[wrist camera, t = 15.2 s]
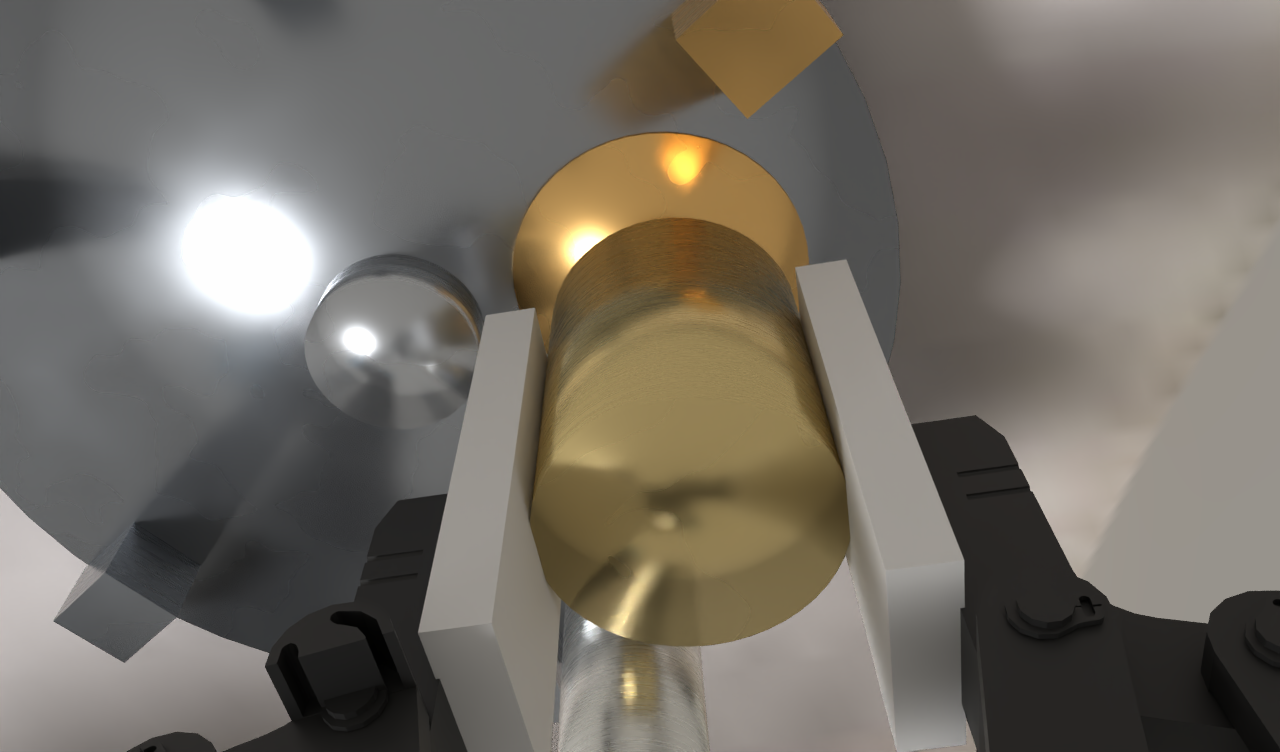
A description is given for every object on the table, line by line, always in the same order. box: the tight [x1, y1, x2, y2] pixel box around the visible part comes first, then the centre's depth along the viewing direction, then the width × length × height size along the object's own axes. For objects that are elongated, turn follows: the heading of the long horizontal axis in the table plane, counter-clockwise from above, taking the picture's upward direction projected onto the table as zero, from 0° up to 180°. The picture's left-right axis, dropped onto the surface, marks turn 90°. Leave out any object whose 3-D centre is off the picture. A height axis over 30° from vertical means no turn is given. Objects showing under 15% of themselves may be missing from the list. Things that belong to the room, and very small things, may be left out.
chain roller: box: [530, 218, 850, 647], centre depth 16 cm, size 4×4×5 cm
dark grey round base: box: [0, 0, 900, 752], centre depth 17 cm, size 18×18×10 cm
